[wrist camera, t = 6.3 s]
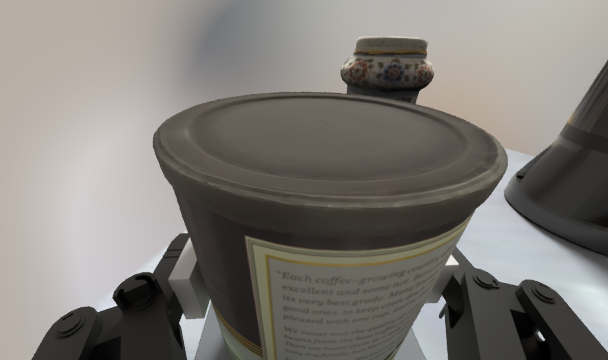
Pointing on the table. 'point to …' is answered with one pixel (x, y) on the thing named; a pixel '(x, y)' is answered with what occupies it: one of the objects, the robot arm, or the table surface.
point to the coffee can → (323, 215)
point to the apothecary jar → (388, 68)
